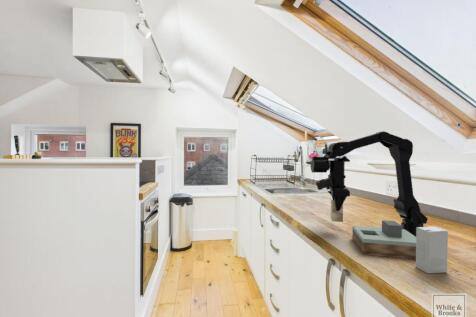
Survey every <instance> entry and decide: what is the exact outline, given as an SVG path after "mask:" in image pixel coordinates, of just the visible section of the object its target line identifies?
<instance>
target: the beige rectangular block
mask: <svg viewBox="0 0 476 317" xmlns="http://www.w3.org/2000/svg"><path fill="white" fill-rule="evenodd" d="M330 220H331V221H332V222H337V223H340V222H341V223H343V222H344V204H343V205H342V207H341V209H340V211H336V206H335V200H333V199H331V200H330Z"/></svg>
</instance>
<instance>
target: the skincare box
mask: <svg viewBox="0 0 476 317" xmlns="http://www.w3.org/2000/svg"><path fill="white" fill-rule="evenodd" d="M448 234H449V232H448V230H446V229H444V228H440V227H438V226H437V227H436V226H423V227H417V228H416V259H415V267H416V268H418V269H419V270H421V271H423V272H425V273H427V274H442V273H447V272H448V241H449V240H448V239H449V237H448V236H449V235H448Z"/></svg>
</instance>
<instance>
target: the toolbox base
mask: <svg viewBox="0 0 476 317" xmlns="http://www.w3.org/2000/svg"><path fill="white" fill-rule="evenodd" d="M351 233H352V235H351V236H352V238H351V239H352V240H353V242H354V243H355V245H356V246H357V248H358V249H359V250H360V252H361V253H362V255H369V256H381V257H390V258H401V259H413V260H416V247H415V246H403V245H390V244H378V243H366V242H362V240H361V239H360V238H359V237H358V235H357V234H356V233H355V232H354V230H353V229H352V232H351ZM363 234H364V235H375V234H365V233H363Z"/></svg>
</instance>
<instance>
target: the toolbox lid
mask: <svg viewBox="0 0 476 317" xmlns="http://www.w3.org/2000/svg"><path fill="white" fill-rule="evenodd" d="M351 228H352V229H353V230H354V232H355V233H356V234H357V235H358V237H359V238H360V239H361V240H362V242H366V243H378V244H390V245H403V246H415V247H416V237H415V236H414V235H412V234H411V233H409V232H408V231H406V230H405V229H402V226H401V223H398V222H397V221H395V220H381V227H374V226H362V225H361V226H360V225H359V226H358V225H352V227H351ZM363 233H365V234H375V235H364V234H363Z"/></svg>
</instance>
